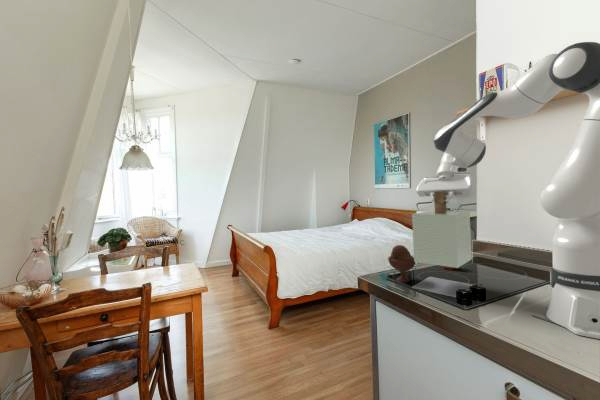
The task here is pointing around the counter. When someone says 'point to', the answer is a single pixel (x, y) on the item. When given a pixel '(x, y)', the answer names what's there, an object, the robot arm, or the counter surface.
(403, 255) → the ice cream bowl
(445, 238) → the cover
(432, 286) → the mat
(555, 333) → the counter surface
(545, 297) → the counter surface
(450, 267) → the fruit
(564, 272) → the robot arm
